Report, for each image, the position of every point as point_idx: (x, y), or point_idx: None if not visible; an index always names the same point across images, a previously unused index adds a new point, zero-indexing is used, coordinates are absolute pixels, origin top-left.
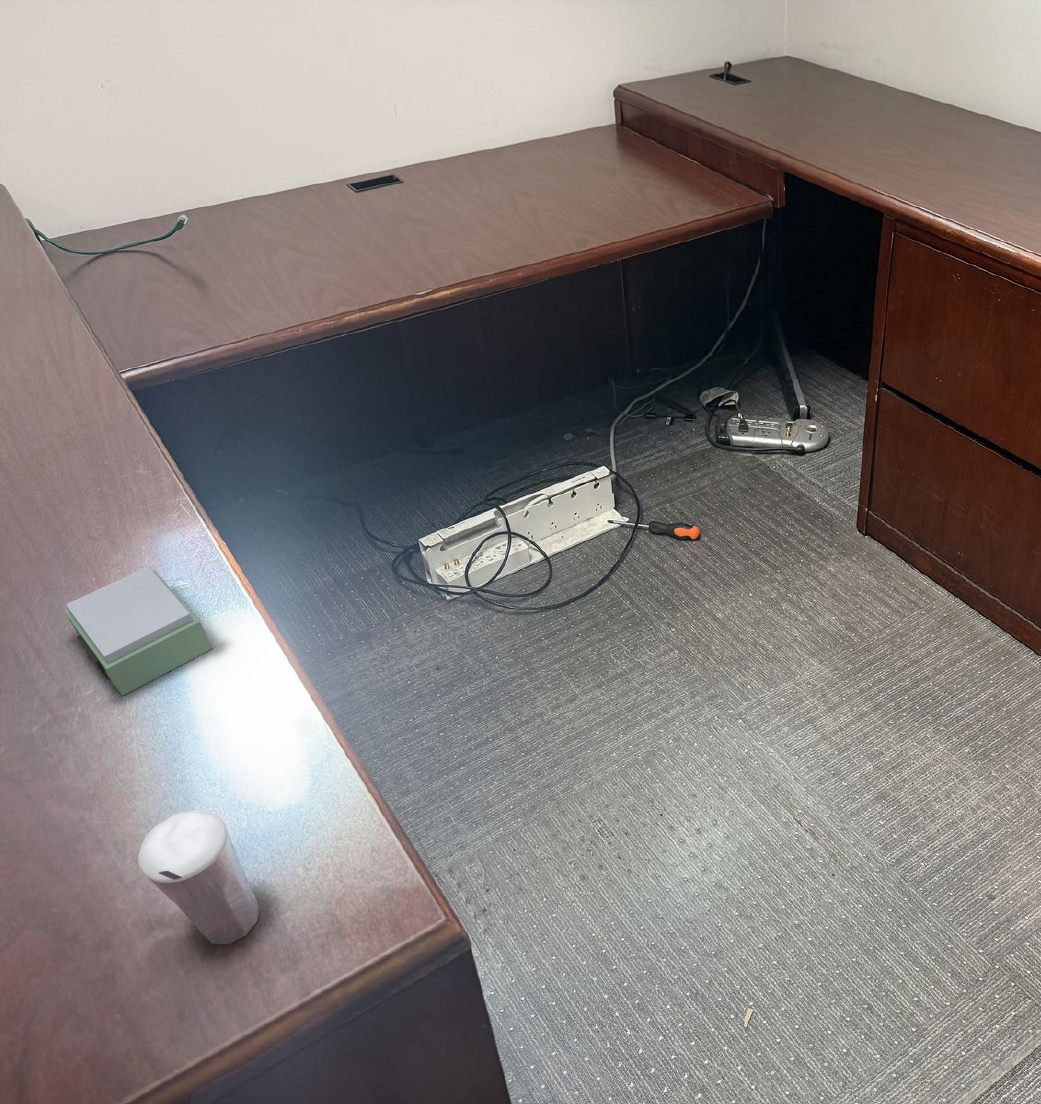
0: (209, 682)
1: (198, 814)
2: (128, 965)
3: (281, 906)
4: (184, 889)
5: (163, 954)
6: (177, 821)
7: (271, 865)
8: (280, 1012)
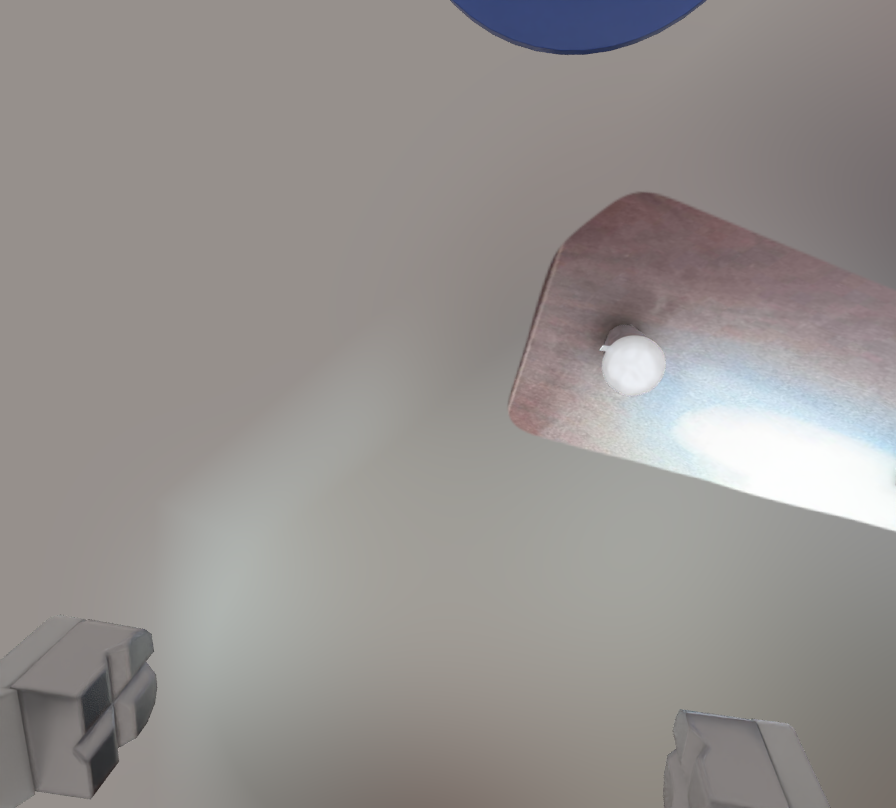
0: (859, 460)
1: (638, 388)
2: (656, 278)
3: None
4: (609, 344)
5: (642, 298)
6: (646, 376)
7: None
8: (535, 325)
